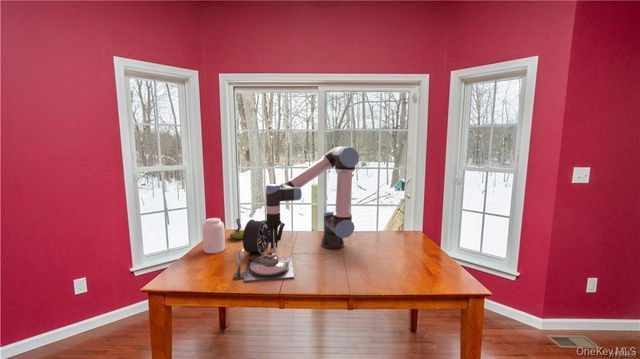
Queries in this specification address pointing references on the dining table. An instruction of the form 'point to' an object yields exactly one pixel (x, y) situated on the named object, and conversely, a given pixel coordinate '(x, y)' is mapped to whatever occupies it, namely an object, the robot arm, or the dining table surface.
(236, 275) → the dial stand
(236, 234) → the figurine
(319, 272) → the dining table surface
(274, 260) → the cover
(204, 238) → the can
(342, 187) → the robot arm
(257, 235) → the wheel rim
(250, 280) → the turntable base
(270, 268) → the turntable
